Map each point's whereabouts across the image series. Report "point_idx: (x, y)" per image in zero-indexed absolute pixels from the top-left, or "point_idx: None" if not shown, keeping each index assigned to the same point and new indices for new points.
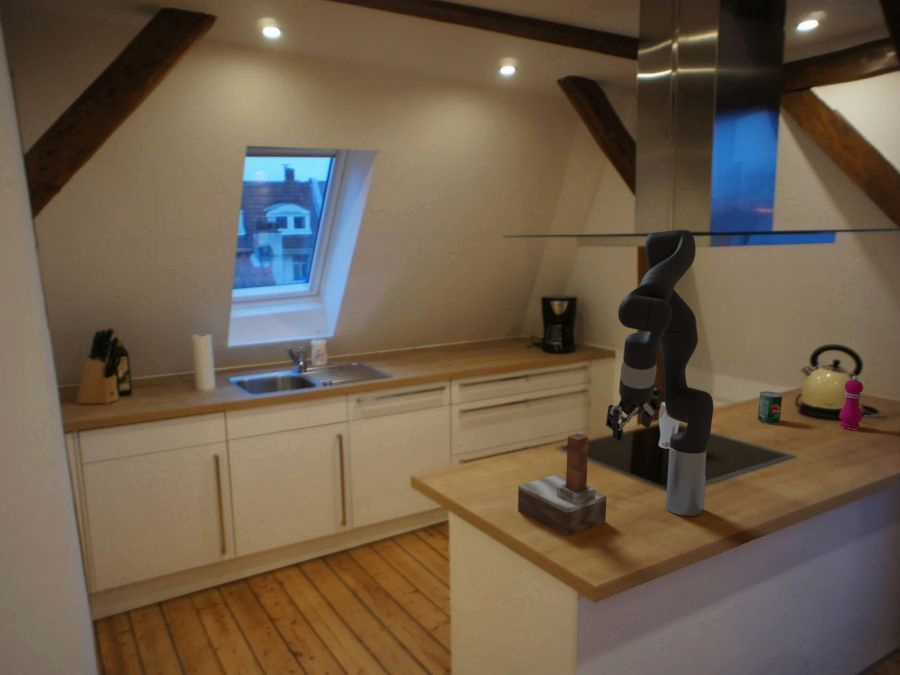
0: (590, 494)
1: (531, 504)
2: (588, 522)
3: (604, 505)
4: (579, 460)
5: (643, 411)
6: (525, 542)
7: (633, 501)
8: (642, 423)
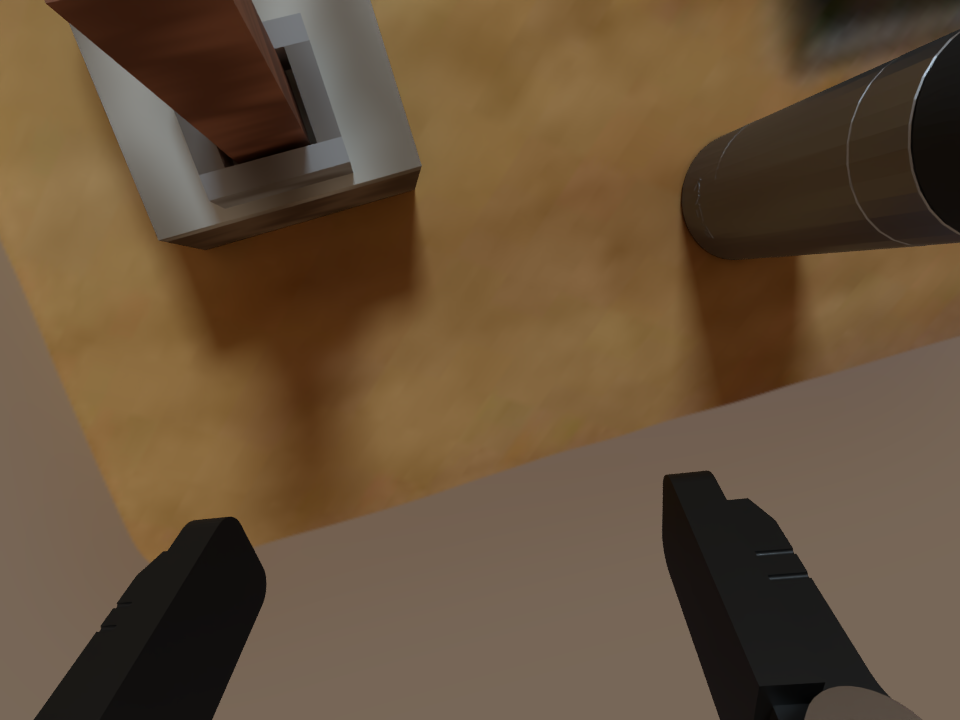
0: (317, 175)
1: None
2: (319, 213)
3: (408, 178)
4: (179, 89)
5: (779, 687)
6: (9, 246)
7: (617, 64)
8: (669, 494)
